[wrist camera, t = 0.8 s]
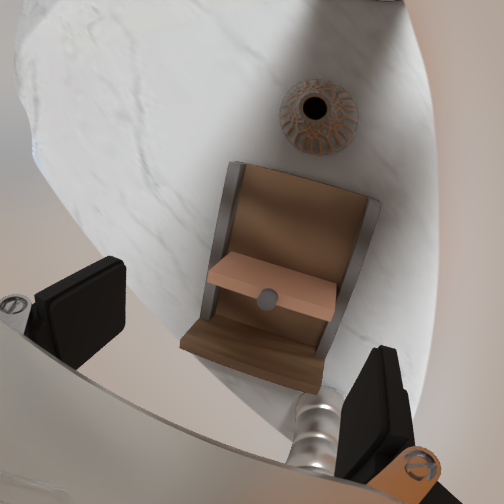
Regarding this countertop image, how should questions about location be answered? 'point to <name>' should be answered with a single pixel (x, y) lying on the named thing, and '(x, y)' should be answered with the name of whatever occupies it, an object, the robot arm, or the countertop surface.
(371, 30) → the countertop surface
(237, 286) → the pusher plate
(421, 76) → the countertop surface
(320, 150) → the vase
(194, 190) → the countertop surface
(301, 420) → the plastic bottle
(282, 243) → the pusher lane
